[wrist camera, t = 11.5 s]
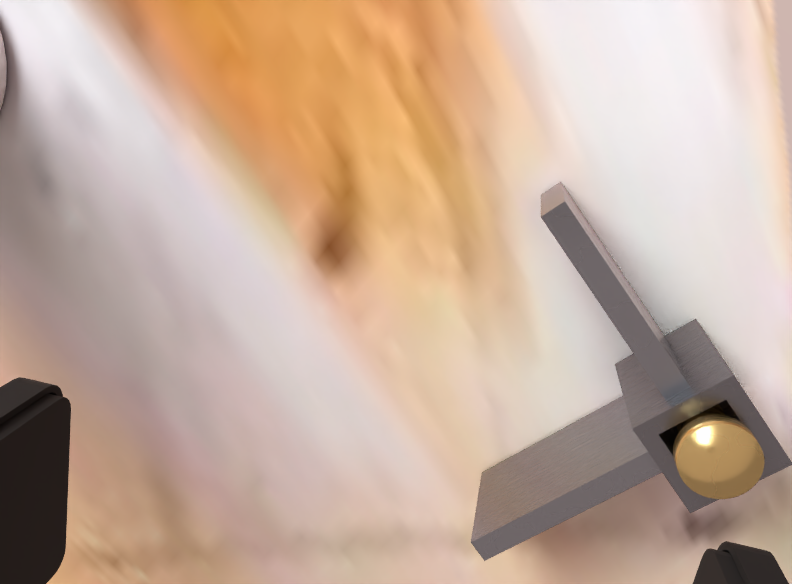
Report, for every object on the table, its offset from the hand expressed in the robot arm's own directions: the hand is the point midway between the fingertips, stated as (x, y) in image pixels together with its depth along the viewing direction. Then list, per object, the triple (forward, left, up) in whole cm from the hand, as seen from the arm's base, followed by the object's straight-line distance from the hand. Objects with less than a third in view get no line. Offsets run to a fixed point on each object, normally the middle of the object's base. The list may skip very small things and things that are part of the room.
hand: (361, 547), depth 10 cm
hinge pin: (+3, -13, -30) cm, 33 cm away
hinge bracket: (-2, -8, -30) cm, 31 cm away
